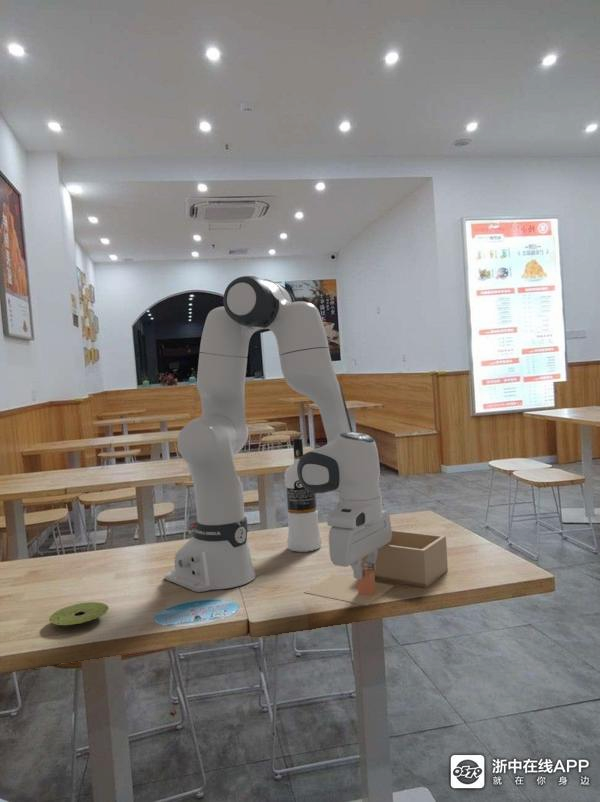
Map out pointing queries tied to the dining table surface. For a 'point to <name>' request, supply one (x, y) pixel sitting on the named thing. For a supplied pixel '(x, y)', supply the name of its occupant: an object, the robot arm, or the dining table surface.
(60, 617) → the green disc
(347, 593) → the box lid
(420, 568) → the brown carton
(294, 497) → the vodka
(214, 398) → the robot arm
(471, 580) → the dining table surface
